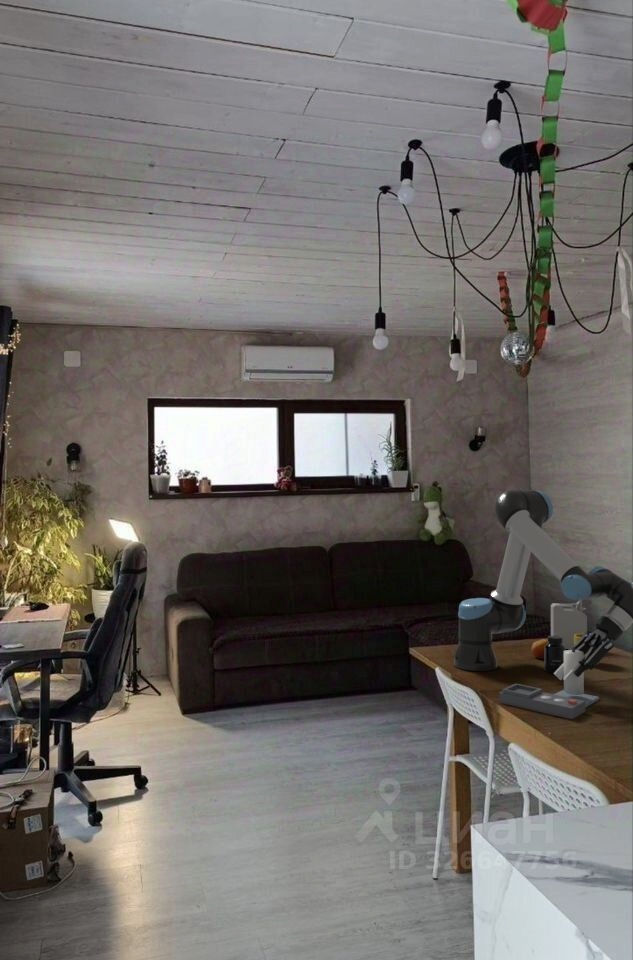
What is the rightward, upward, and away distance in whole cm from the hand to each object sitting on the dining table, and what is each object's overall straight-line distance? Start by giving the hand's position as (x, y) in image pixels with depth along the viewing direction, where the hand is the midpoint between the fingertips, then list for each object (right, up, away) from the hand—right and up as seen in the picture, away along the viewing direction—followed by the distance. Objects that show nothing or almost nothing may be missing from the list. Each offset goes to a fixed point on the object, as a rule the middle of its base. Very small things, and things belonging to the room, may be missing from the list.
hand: (562, 679), depth 210 cm
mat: (+4, -6, 0) cm, 7 cm away
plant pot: (+25, -7, +44) cm, 52 cm away
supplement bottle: (+9, -7, +32) cm, 34 cm away
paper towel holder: (+4, -4, 0) cm, 5 cm away
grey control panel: (-8, -6, -6) cm, 12 cm away
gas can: (+27, -7, +67) cm, 73 cm away
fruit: (+11, -7, +52) cm, 54 cm away
